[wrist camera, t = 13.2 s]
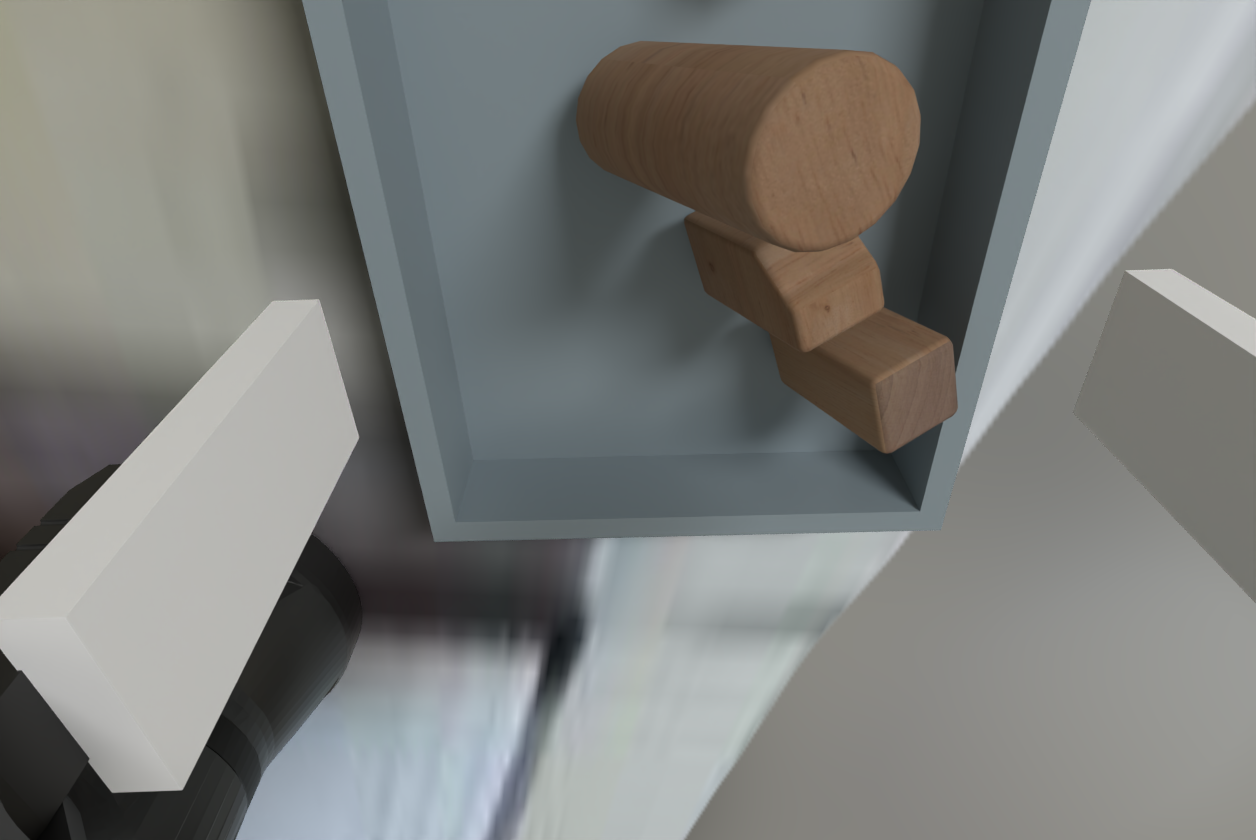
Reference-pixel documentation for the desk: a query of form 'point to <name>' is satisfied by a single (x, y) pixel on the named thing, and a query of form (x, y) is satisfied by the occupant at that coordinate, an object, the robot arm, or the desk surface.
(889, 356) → the wooden block set
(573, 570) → the desk surface
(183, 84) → the desk surface
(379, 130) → the crate
